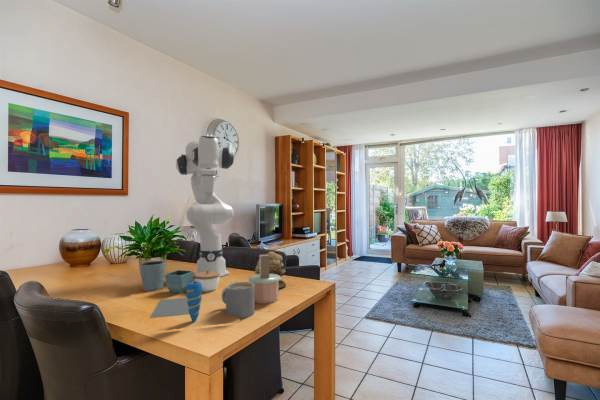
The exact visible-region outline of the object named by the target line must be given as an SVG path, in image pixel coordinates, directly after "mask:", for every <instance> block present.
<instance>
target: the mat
mask: <svg viewBox="0 0 600 400" xmlns="http://www.w3.org/2000/svg"><path fill="white" fill-rule="evenodd" d="M202 298H203V297H201V301H200V305H201V304H202ZM187 301H188V299H187V297H178V298H167V299H159V301H158V303H157V305H156V306H155V308H154V310H153V311H152V312H151V315H150V316H149V319H155V318H164V317H165V318H166V317H173V316H176V317H177V316H184V315H190V314H189V306H188V303H187ZM200 309H201V307H200V308H199V311H200Z"/></svg>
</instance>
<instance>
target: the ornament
mask: <svg viewBox="0 0 600 400" xmlns="http://www.w3.org/2000/svg"><path fill="white" fill-rule="evenodd" d="M186 289H187V291H186V293H185V296H186V298H187V299H188V301H187V303H188V306H189V314H188V315H189V316H190V319H191V320H190V321H192V323H195V322H197V319H198V317H199V315H200V310H199V308H200V309H201V304H200V301H201V302H202V299H201V297H202V293H203V292H202V285H201V283H200V282H196V279H195V278H194V279H193V280H192V282H191V283H188V284H187V285H186ZM202 298H203V297H202Z"/></svg>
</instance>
